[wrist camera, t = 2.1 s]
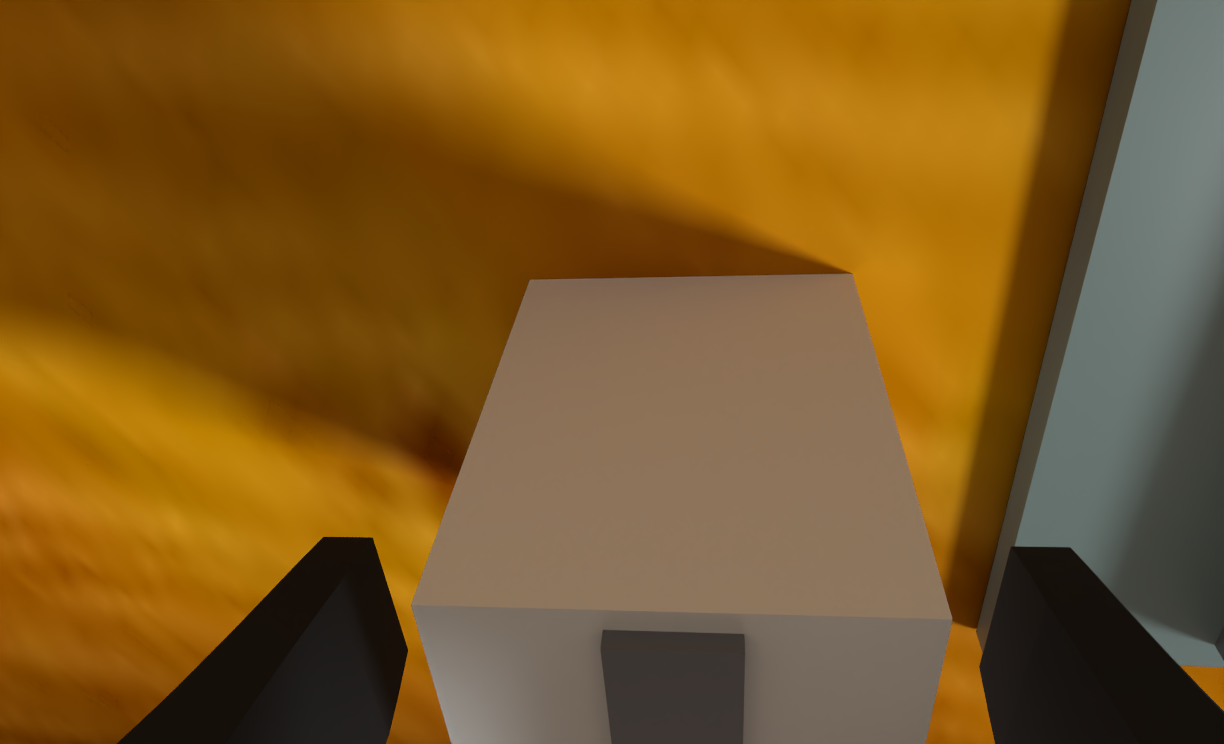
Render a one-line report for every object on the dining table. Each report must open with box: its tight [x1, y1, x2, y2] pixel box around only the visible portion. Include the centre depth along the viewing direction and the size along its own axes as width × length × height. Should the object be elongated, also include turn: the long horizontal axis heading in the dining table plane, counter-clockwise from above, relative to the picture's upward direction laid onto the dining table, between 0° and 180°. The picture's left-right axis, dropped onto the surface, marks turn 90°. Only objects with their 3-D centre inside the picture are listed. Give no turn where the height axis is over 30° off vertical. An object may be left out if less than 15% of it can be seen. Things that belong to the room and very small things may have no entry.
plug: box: [411, 274, 953, 744], centre depth 11 cm, size 4×4×6 cm
